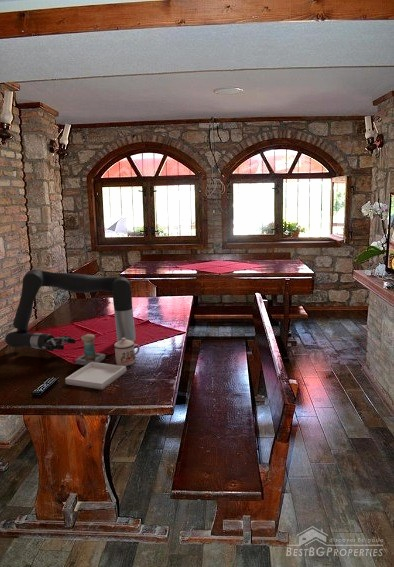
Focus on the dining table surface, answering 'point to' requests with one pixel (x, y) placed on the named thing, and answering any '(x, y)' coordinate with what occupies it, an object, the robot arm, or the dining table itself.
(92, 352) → the spool
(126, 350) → the teacup with lid
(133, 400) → the dining table surface
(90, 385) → the tray
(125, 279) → the robot arm
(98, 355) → the socket
